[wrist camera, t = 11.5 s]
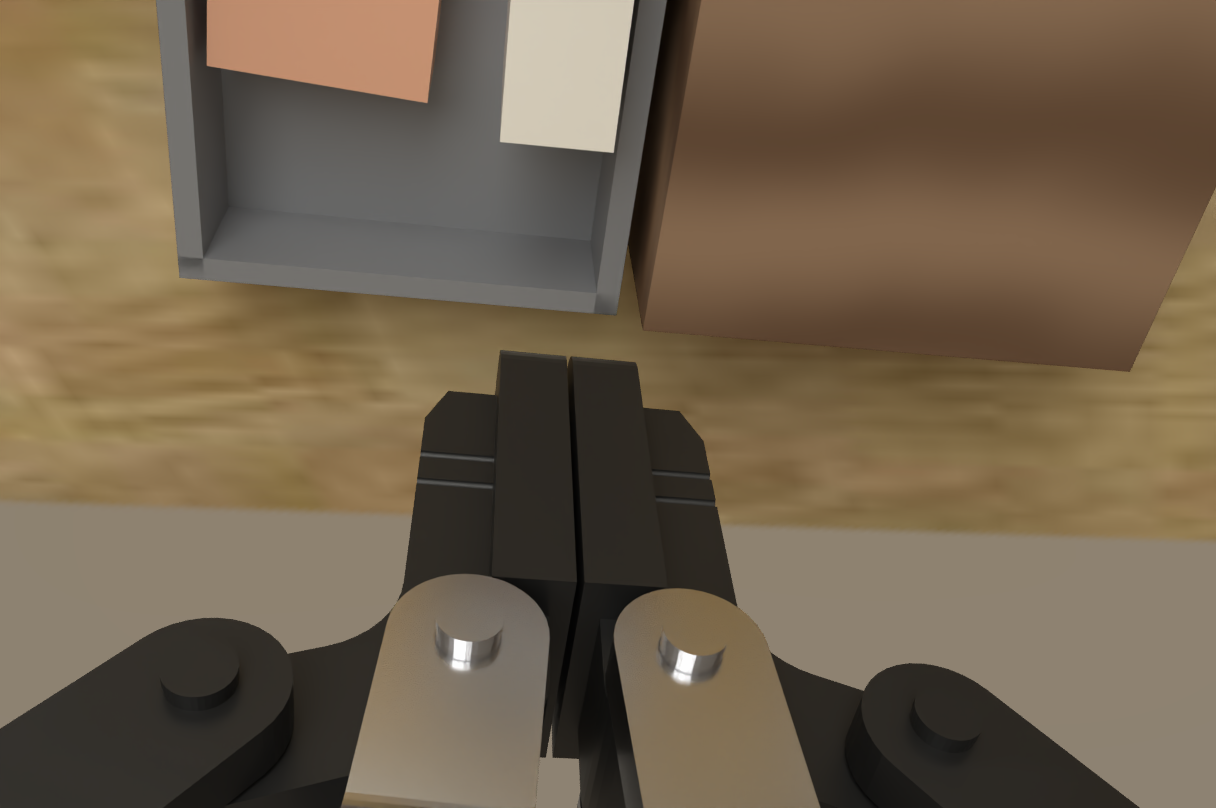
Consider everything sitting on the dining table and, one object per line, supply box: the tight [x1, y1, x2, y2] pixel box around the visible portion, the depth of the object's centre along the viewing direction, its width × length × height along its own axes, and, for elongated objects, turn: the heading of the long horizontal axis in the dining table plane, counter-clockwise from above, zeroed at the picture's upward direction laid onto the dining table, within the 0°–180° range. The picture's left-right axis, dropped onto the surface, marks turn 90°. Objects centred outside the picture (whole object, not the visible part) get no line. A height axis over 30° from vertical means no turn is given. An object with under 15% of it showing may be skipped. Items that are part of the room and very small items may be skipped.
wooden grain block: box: [628, 0, 1216, 372], centre depth 28 cm, size 13×13×5 cm
